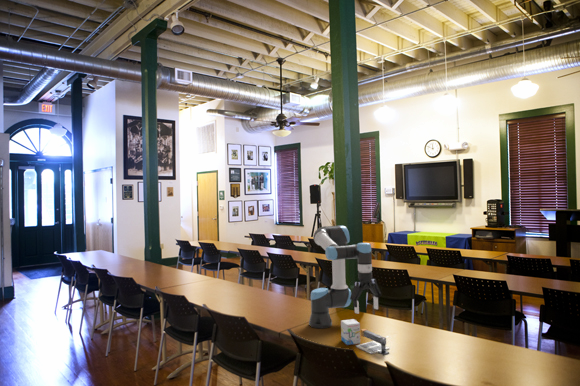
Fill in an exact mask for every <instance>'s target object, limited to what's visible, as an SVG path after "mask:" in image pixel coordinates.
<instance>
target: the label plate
mask: <svg viewBox="0 0 580 386" xmlns="http://www.w3.org/2000/svg"><path fill="white" fill-rule="evenodd" d="M355 348H357V349H359V350H361V351H364V352H366V353H368V354H370V355H374V354H379V353H378V351H381V344H380V343H378V342H375V341H373V340H371V341H367V342H365V343H359V344H355ZM388 350H391V349H390V347H388V346H386V351H388Z"/></svg>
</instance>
